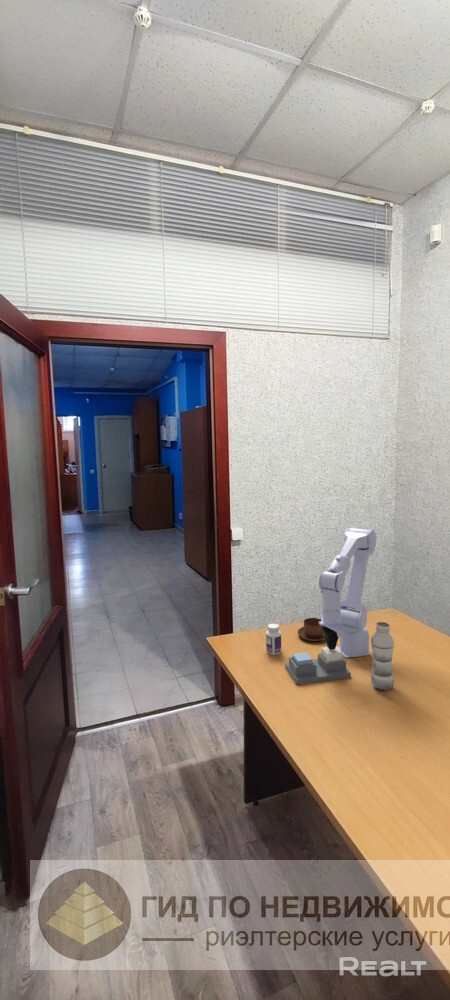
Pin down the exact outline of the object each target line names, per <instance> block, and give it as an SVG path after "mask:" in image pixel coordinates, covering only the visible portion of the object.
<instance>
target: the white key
mask: <svg viewBox="0 0 450 1000" xmlns="http://www.w3.org/2000/svg"><path fill="white" fill-rule="evenodd" d="M321 653H322V657H323V658H324V659H325V661H326V662H334V661H342V657H343V655H342V652H341V651H340V650H339V649H338V648H337V647H336V648H335V649H332V650H329V649H328V647H327V646H325V647H324V646H323V647H321Z"/></svg>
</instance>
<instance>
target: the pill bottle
mask: <svg viewBox="0 0 450 1000" xmlns="http://www.w3.org/2000/svg"><path fill="white" fill-rule="evenodd" d="M265 641H266V642H265V643H266V644H265V648H266V649H265V650H266V653H267V654H269V655H273V656H274V655H275V656H276V655H279V654H281V653H282V651H283V650H282V649H283V648H282V633H281V631H280V625H279V624H278V623H269V624H268V625H267V631H266V632H265Z"/></svg>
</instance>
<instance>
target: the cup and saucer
mask: <svg viewBox="0 0 450 1000" xmlns="http://www.w3.org/2000/svg"><path fill="white" fill-rule="evenodd" d="M320 621H322V620H321V619H320V618H318V617H309V618H306V619H304V620H303V626H302V627H300V628H298V630H297V633H298V634H297V635H298V636H299V637H300V638H301V639H303V640H305V641H309V642H322V641H324V640H325V641H326V638H325V635H324V632H323V630H322V629H321V625H320V624H319V622H320Z"/></svg>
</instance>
